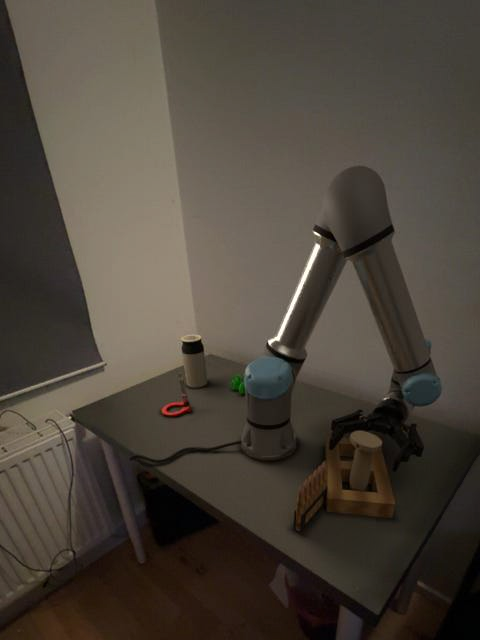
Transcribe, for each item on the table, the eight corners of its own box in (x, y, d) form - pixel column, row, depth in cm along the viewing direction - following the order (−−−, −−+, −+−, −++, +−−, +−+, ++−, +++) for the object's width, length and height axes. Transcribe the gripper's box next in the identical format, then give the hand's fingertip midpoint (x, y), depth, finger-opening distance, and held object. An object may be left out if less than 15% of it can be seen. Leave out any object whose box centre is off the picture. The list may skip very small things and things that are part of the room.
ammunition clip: (318, 499, 78) (322, 456, 71) (326, 503, 77) (331, 460, 70) (293, 529, 71) (294, 485, 65) (300, 534, 70) (303, 489, 64)
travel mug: (198, 389, 129) (192, 342, 119) (182, 385, 132) (175, 339, 123) (211, 381, 134) (207, 335, 125) (195, 377, 138) (189, 333, 128)
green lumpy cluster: (277, 384, 129) (278, 366, 126) (258, 401, 119) (257, 382, 115) (243, 376, 137) (242, 360, 133) (222, 392, 126) (220, 374, 122)
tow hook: (164, 420, 112) (192, 412, 114) (155, 384, 105) (185, 376, 107) (160, 409, 118) (186, 402, 121) (151, 374, 111) (179, 367, 114)
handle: (361, 506, 75) (371, 450, 67) (338, 490, 80) (345, 436, 72) (375, 496, 78) (387, 441, 70) (352, 481, 82) (360, 428, 74)
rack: (326, 511, 75) (328, 497, 72) (325, 448, 94) (326, 436, 92) (392, 518, 72) (395, 504, 70) (376, 451, 92) (379, 439, 89)
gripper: (443, 439, 82) (421, 491, 68) (342, 412, 95) (306, 450, 81) (452, 411, 78) (430, 460, 64) (345, 387, 91) (308, 423, 77)
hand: (361, 455), depth 73 cm, fingers open, 13 cm apart
